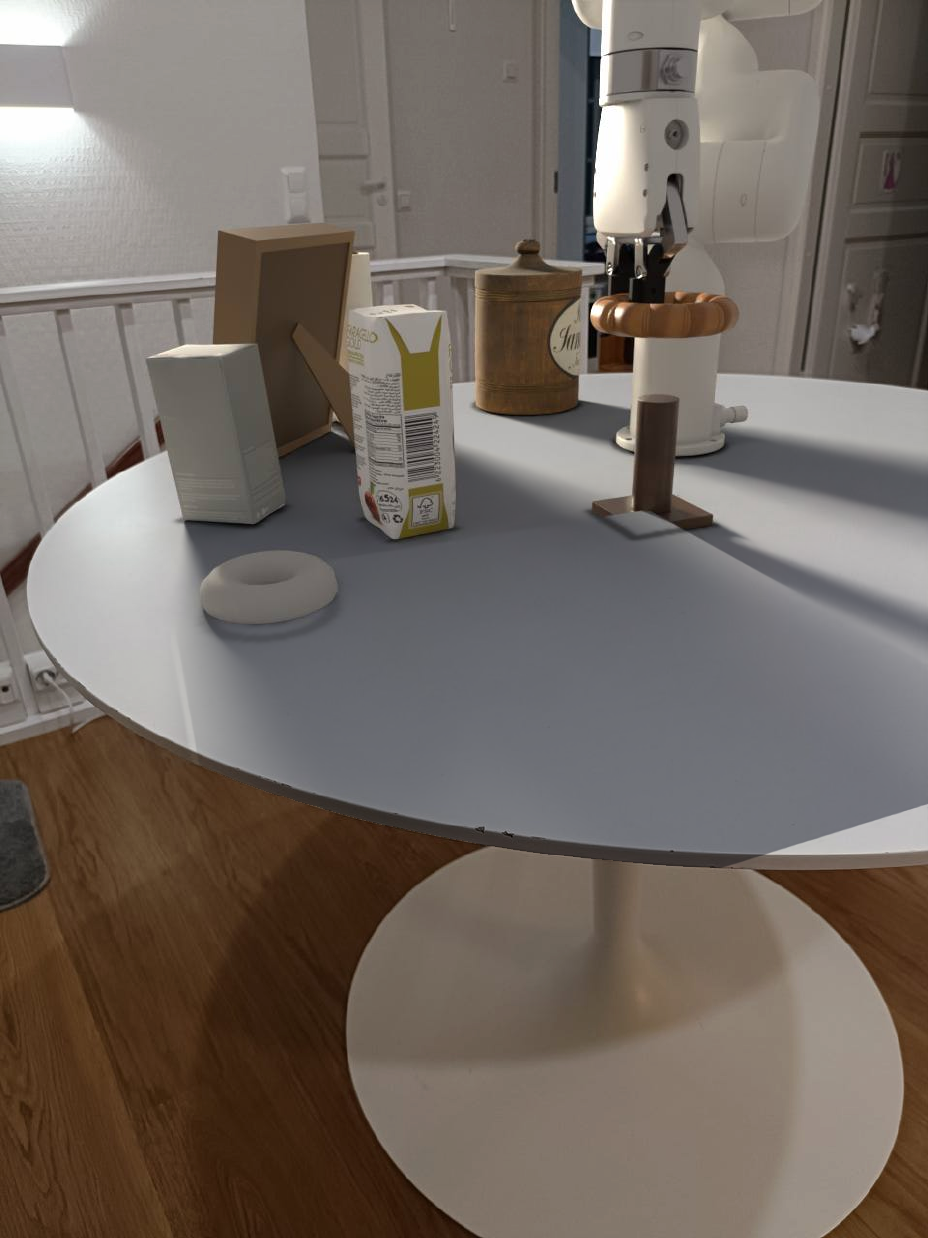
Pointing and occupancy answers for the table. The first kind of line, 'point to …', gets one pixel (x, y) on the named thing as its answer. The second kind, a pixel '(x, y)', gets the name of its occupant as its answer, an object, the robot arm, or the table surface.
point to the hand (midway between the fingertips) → (634, 321)
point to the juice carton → (403, 417)
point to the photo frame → (290, 320)
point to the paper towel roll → (356, 298)
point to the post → (655, 468)
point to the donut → (268, 587)
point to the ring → (665, 316)
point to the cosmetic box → (218, 432)
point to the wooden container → (527, 335)
